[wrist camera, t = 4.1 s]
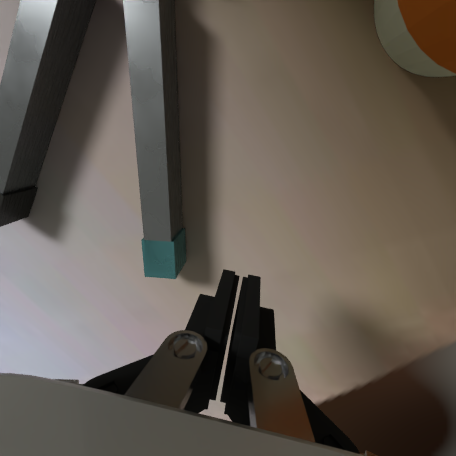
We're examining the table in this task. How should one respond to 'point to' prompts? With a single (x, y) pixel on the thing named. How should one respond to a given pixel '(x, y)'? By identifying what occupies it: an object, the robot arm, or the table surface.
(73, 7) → the tongs fixed arm
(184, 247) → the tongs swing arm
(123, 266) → the table surface
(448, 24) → the reusable coffee cup
